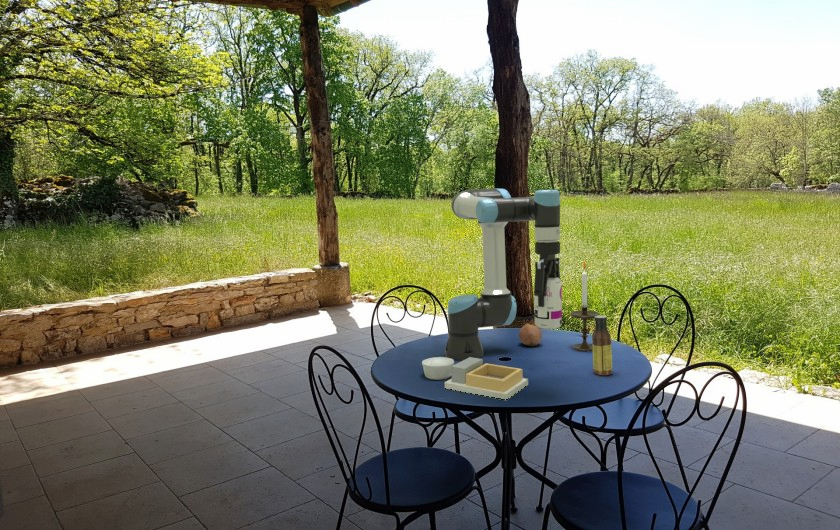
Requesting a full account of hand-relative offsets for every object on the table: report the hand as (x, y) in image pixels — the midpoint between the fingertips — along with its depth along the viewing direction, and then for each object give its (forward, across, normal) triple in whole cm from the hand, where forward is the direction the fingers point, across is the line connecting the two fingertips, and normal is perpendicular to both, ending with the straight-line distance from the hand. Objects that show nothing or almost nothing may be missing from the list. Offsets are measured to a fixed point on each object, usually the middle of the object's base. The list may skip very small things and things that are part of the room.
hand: (548, 314), depth 166 cm
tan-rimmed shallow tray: (+25, -6, +19) cm, 32 cm away
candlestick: (+25, +52, +6) cm, 58 cm away
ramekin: (+25, -4, +39) cm, 46 cm away
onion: (+25, +47, +27) cm, 59 cm away
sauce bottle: (+25, +25, -9) cm, 36 cm away
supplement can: (+4, 0, 0) cm, 4 cm away
